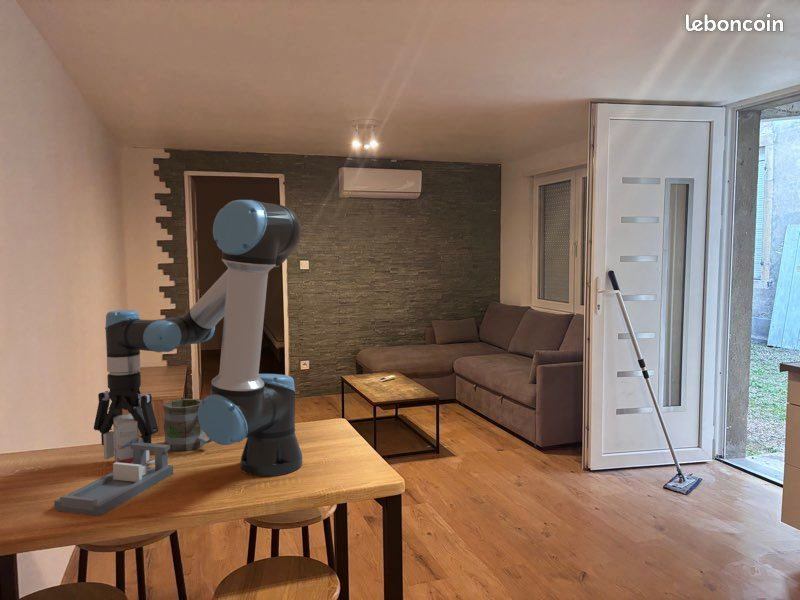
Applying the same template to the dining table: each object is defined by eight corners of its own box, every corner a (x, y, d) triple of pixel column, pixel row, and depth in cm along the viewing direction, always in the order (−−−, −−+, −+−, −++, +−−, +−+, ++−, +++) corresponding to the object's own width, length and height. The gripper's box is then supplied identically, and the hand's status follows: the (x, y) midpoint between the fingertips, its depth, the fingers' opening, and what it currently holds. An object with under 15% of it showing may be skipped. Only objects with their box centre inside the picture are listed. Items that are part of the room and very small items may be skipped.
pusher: (172, 464, 144) (171, 449, 144) (139, 482, 132) (138, 466, 132) (148, 461, 145) (147, 447, 145) (113, 479, 134) (113, 463, 134)
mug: (155, 449, 159) (154, 405, 158) (184, 438, 169) (183, 397, 168) (200, 456, 153) (199, 411, 152) (228, 444, 163) (227, 402, 162)
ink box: (141, 467, 145) (139, 420, 145) (118, 471, 143) (117, 423, 142) (134, 457, 153) (133, 412, 152) (113, 461, 150) (112, 415, 149)
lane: (173, 473, 141) (172, 445, 140) (99, 516, 118) (98, 482, 117) (134, 469, 144) (133, 441, 143) (54, 510, 120) (53, 477, 120)
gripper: (172, 371, 147) (174, 458, 148) (97, 367, 152) (100, 451, 154) (153, 377, 140) (155, 468, 141) (74, 372, 145) (78, 460, 147)
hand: (126, 459), depth 148 cm, fingers open, 10 cm apart
